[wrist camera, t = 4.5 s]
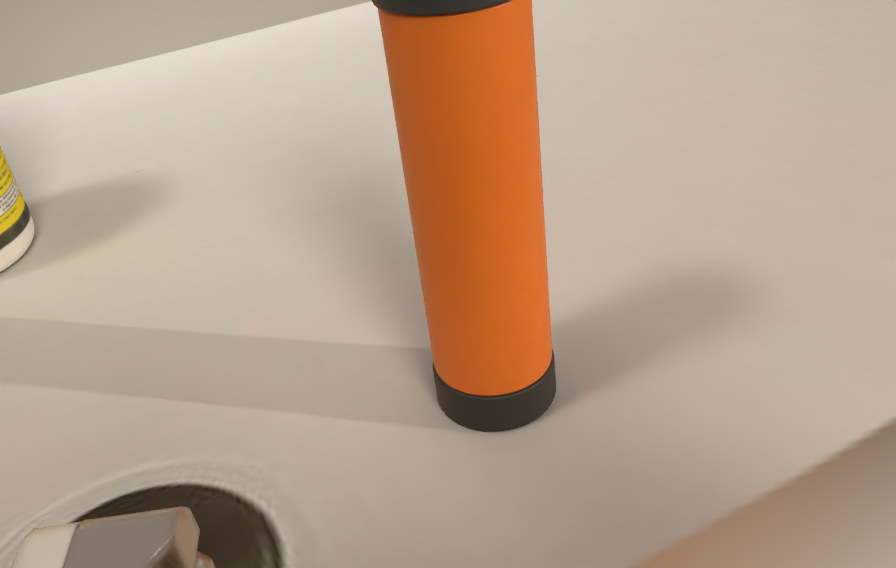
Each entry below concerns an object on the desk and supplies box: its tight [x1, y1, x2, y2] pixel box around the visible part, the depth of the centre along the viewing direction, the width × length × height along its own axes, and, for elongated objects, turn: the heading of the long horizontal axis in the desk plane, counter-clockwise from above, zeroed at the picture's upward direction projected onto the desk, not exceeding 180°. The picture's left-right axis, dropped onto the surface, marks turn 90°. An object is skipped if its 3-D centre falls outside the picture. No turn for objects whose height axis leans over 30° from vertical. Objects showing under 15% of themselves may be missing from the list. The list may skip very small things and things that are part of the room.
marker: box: [372, 0, 556, 431], centre depth 21 cm, size 3×3×12 cm
